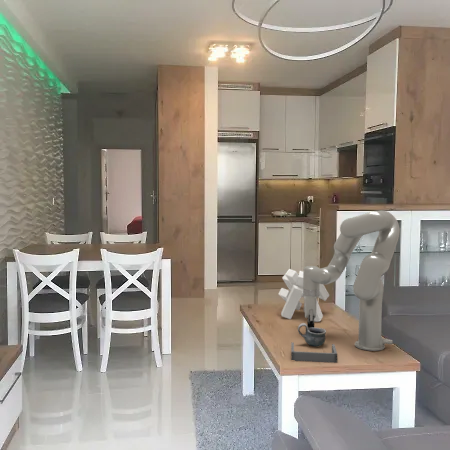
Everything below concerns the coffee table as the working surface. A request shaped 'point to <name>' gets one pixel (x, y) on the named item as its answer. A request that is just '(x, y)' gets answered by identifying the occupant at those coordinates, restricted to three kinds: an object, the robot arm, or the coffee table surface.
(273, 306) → the coffee table surface
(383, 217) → the robot arm
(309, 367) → the coffee table surface
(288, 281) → the white crossed bars sculpture
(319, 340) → the mug
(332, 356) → the frame
